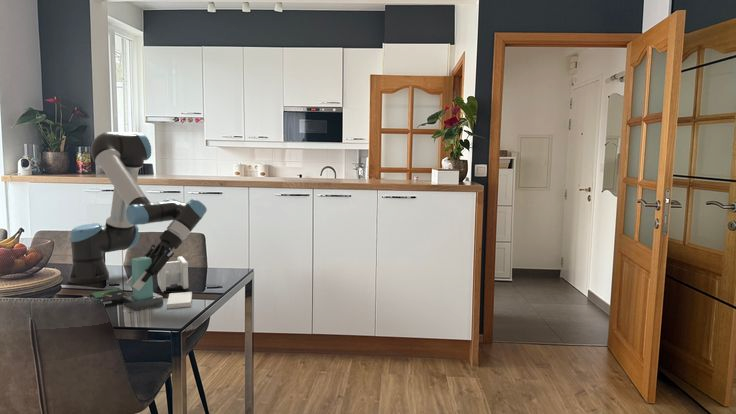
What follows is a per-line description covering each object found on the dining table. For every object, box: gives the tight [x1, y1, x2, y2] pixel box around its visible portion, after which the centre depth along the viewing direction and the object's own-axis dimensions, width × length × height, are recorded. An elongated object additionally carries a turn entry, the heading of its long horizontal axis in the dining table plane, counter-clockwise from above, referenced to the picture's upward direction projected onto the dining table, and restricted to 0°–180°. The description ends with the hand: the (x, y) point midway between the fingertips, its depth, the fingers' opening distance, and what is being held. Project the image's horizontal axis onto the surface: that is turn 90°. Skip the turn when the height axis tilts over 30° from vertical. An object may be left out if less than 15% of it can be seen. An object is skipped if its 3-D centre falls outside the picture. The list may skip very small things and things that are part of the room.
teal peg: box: [130, 256, 154, 300], centre depth 186 cm, size 5×5×15 cm
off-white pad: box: [166, 291, 193, 309], centre depth 191 cm, size 14×8×2 cm, turn 17°
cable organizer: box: [156, 255, 189, 293], centre depth 209 cm, size 15×11×12 cm
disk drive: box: [89, 288, 128, 307], centre depth 193 cm, size 10×3×15 cm
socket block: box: [122, 292, 164, 312], centre depth 187 cm, size 10×10×3 cm
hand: (132, 287), depth 184 cm, fingers closed on teal peg, 5 cm apart
